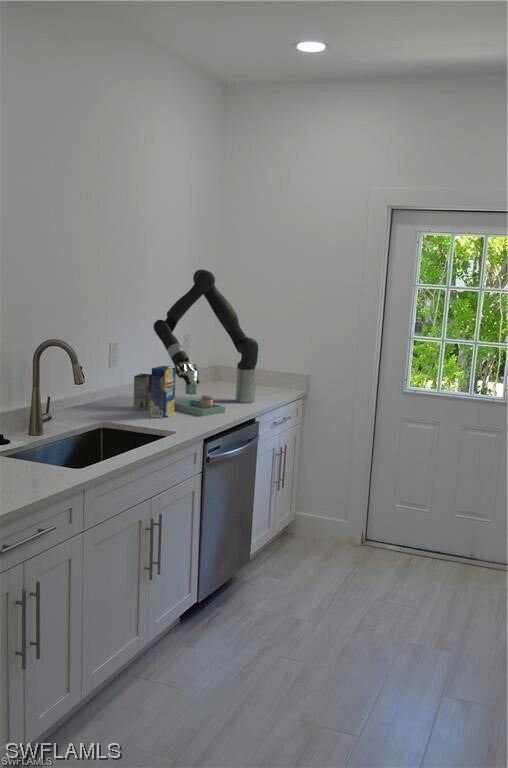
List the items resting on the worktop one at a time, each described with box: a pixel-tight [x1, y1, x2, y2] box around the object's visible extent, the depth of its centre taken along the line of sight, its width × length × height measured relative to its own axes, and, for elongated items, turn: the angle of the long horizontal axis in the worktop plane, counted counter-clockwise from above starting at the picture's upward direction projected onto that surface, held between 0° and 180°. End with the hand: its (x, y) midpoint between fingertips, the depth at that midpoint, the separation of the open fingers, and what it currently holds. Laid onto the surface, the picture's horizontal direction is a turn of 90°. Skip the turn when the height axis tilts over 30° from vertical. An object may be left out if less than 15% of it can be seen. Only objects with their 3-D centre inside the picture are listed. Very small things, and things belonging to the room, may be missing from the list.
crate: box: [174, 398, 226, 417], centre depth 353 cm, size 15×22×4 cm
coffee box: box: [132, 373, 152, 411], centre depth 354 cm, size 9×6×16 cm
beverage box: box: [149, 365, 177, 419], centre depth 341 cm, size 7×11×22 cm, turn 161°
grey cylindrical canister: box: [184, 370, 198, 396], centre depth 354 cm, size 5×5×11 cm
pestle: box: [201, 394, 214, 409], centre depth 349 cm, size 5×5×8 cm
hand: (194, 383), depth 353 cm, fingers closed on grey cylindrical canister, 5 cm apart
